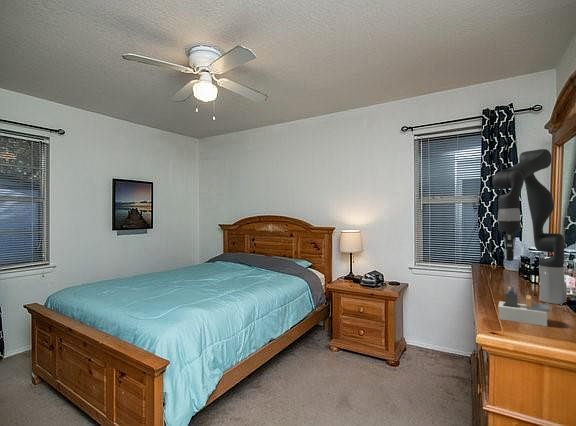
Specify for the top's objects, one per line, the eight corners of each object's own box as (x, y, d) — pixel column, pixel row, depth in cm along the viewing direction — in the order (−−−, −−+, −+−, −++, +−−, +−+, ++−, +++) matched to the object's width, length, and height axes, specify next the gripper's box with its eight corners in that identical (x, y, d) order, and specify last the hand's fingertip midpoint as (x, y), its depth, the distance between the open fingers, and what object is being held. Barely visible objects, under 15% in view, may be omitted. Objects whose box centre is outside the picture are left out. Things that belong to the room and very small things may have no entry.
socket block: (499, 312, 132) (499, 301, 132) (545, 319, 123) (545, 306, 123) (498, 319, 124) (498, 306, 124) (547, 326, 115) (546, 312, 115)
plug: (517, 317, 126) (516, 286, 126) (518, 319, 122) (517, 288, 123) (505, 315, 128) (505, 285, 128) (505, 318, 125) (504, 287, 125)
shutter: (526, 304, 125) (526, 295, 125) (548, 307, 121) (548, 297, 121) (526, 308, 120) (526, 298, 120) (550, 312, 115) (549, 301, 116)
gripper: (499, 219, 134) (500, 257, 134) (497, 220, 123) (498, 260, 122) (520, 219, 130) (521, 258, 129) (520, 219, 118) (521, 262, 118)
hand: (510, 259), depth 126 cm, fingers open, 8 cm apart
